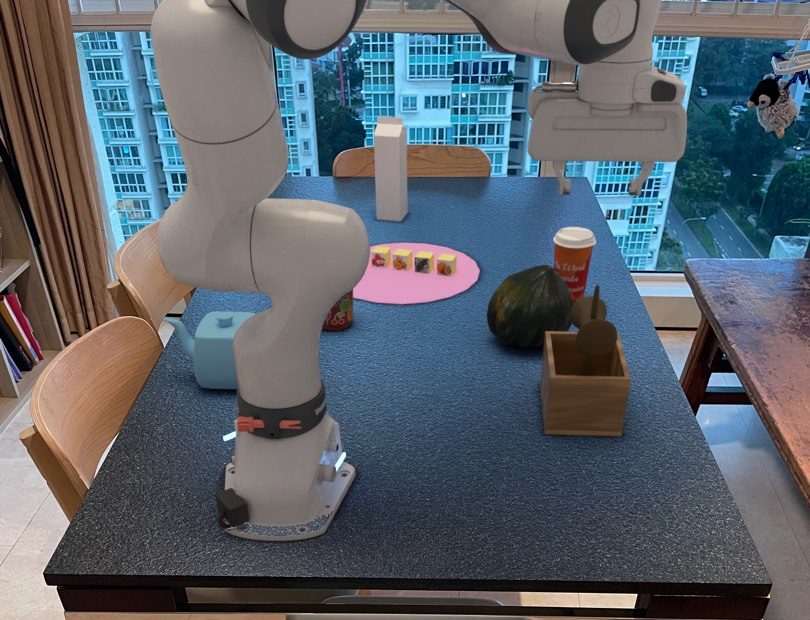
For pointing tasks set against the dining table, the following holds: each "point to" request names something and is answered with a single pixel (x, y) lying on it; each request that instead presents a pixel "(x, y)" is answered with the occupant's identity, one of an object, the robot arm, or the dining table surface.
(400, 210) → the milk
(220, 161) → the robot arm
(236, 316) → the teapot
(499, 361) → the dining table surface
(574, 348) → the caddy
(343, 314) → the smoothie
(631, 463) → the dining table surface
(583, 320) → the kendama
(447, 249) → the platter
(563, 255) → the paper cup
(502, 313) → the squash
